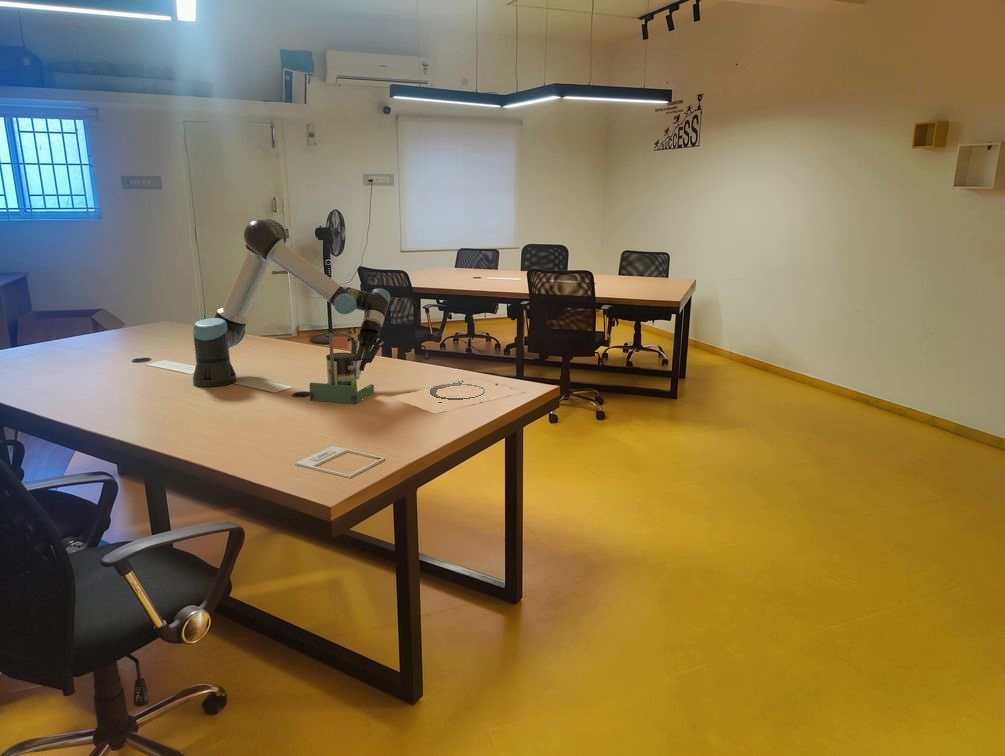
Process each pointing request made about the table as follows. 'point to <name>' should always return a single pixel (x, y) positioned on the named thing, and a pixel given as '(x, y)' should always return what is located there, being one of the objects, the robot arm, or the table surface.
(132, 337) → the table surface
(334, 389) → the green frame
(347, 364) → the coffee can
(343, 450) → the photo frame
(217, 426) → the table surface
